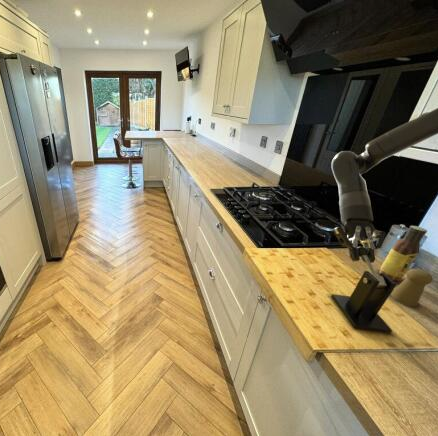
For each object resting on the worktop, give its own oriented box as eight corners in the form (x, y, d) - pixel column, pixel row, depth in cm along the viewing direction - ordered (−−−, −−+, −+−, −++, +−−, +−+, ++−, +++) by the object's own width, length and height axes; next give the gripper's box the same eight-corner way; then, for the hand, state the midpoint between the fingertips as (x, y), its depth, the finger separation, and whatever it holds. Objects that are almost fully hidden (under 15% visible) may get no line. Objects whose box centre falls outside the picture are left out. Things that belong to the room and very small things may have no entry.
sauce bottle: (398, 284, 82) (431, 235, 73) (375, 274, 87) (403, 227, 78) (402, 277, 86) (434, 229, 77) (380, 268, 90) (407, 222, 82)
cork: (389, 297, 76) (407, 270, 71) (392, 289, 80) (409, 263, 75) (415, 309, 72) (436, 281, 67) (417, 300, 75) (437, 273, 71)
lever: (350, 249, 73) (356, 243, 71) (361, 251, 73) (368, 245, 70) (369, 288, 65) (377, 283, 62) (382, 290, 64) (390, 285, 62)
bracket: (330, 296, 75) (348, 261, 69) (361, 300, 74) (382, 265, 68) (353, 328, 65) (377, 290, 59) (390, 333, 64) (418, 295, 57)
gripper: (339, 201, 73) (346, 256, 67) (389, 206, 71) (401, 263, 65) (324, 210, 80) (329, 260, 74) (369, 214, 78) (378, 266, 72)
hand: (363, 261), depth 70 cm, fingers closed on lever, 3 cm apart
